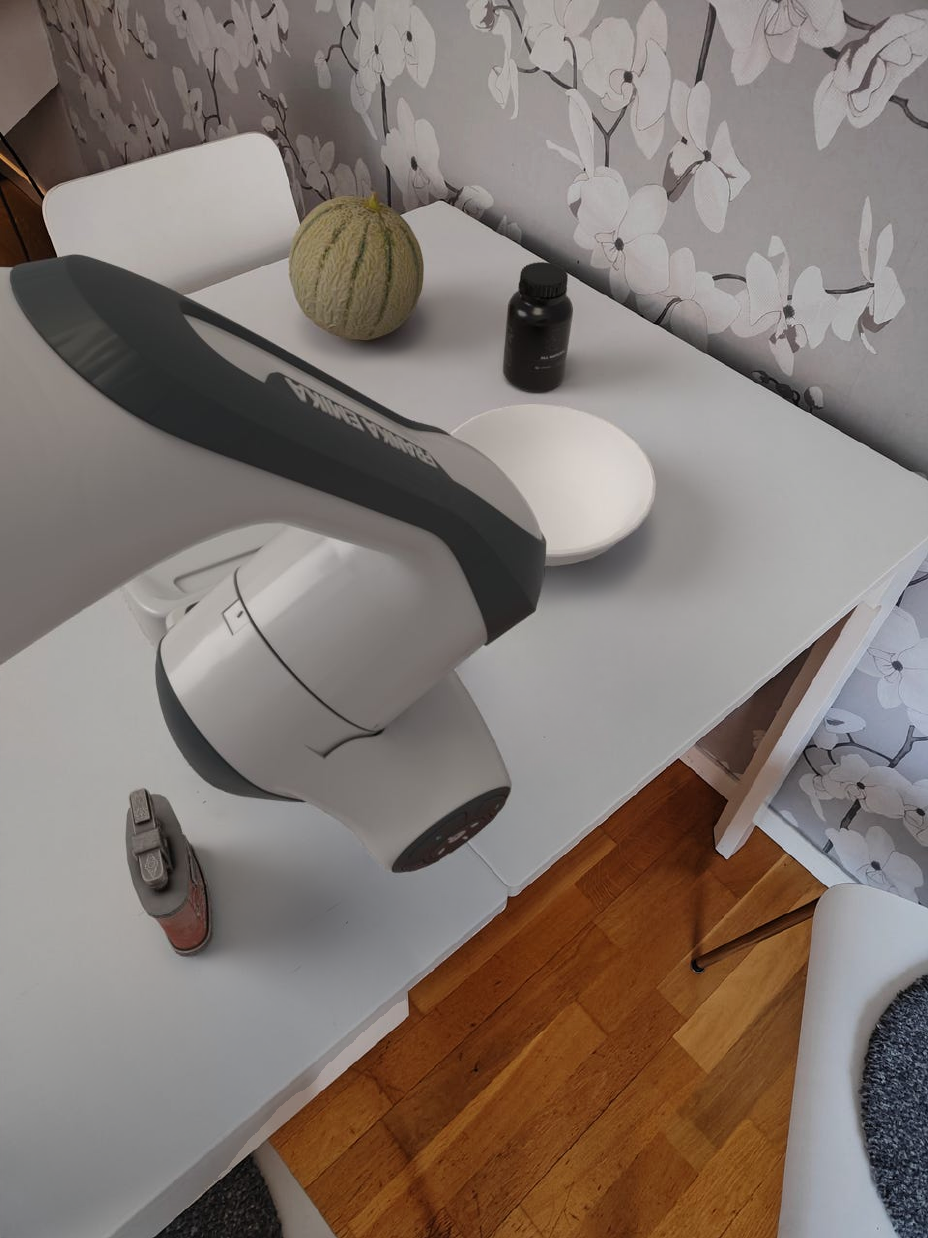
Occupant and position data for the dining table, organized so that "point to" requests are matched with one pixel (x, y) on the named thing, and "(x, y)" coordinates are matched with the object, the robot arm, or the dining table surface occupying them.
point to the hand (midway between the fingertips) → (245, 473)
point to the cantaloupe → (356, 267)
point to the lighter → (168, 873)
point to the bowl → (568, 474)
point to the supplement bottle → (538, 328)
